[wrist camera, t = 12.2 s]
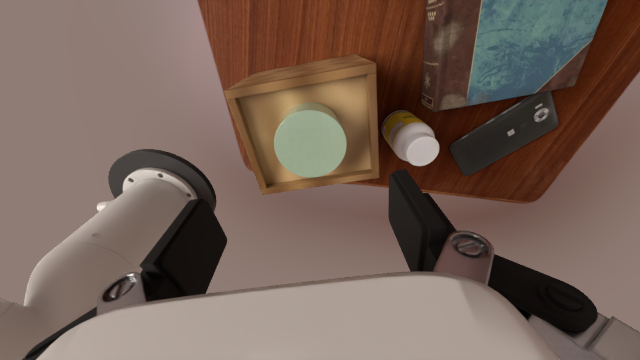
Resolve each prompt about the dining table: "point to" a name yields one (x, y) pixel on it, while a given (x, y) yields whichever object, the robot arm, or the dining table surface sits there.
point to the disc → (310, 140)
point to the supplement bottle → (410, 138)
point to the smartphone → (505, 133)
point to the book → (503, 48)
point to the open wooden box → (300, 87)
